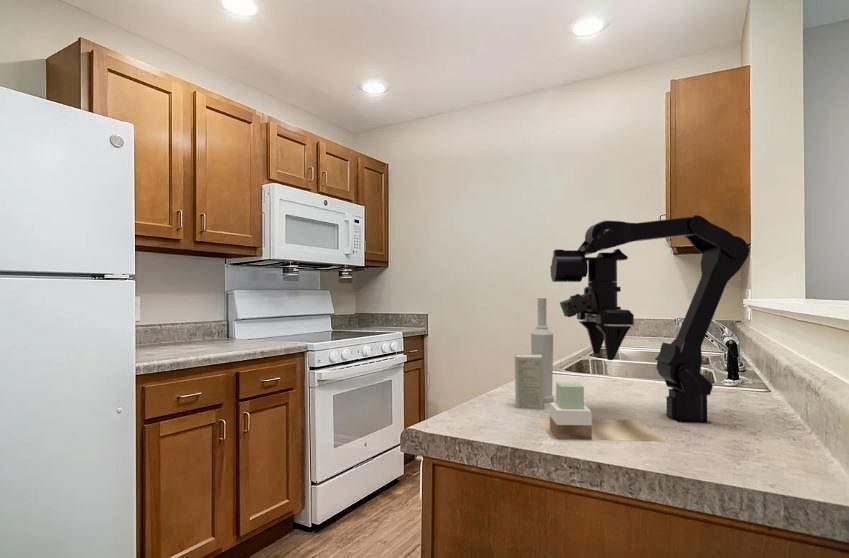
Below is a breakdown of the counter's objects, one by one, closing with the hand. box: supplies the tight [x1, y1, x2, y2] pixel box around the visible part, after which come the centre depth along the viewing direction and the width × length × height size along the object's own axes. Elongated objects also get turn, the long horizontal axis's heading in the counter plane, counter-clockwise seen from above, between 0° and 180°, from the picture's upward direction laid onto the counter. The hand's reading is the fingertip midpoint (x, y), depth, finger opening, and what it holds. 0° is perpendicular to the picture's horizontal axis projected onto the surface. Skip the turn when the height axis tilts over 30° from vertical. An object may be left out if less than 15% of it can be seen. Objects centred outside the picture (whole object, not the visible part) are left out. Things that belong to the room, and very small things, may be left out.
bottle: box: [530, 297, 554, 404], centre depth 114 cm, size 5×5×25 cm
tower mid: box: [549, 402, 593, 425], centre depth 87 cm, size 6×6×2 cm
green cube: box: [555, 381, 585, 409], centre depth 87 cm, size 4×4×4 cm
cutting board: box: [536, 417, 669, 443], centre depth 90 cm, size 20×14×1 cm
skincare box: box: [514, 353, 545, 410], centre depth 108 cm, size 6×4×12 cm
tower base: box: [549, 416, 593, 441], centre depth 87 cm, size 6×6×2 cm
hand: (603, 356), depth 99 cm, fingers open, 9 cm apart
